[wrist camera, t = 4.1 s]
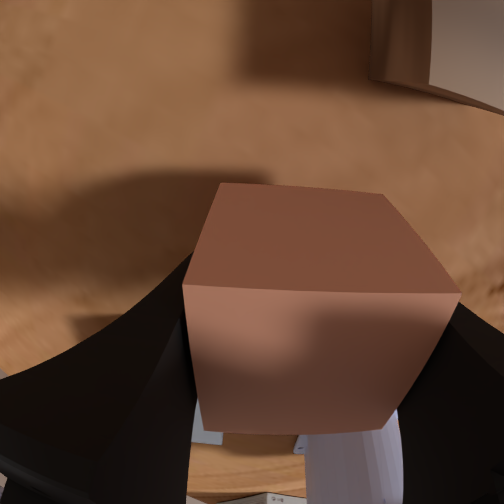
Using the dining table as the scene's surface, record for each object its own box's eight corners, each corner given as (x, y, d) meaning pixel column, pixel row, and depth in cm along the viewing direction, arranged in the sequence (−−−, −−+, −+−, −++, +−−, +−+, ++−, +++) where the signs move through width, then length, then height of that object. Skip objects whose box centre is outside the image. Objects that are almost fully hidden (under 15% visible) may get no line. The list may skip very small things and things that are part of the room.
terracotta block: (352, 316, 12) (381, 429, 7) (222, 312, 12) (203, 430, 8) (383, 194, 9) (462, 293, 5) (220, 182, 9) (182, 284, 5)
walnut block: (468, 105, 10) (546, 130, 6) (367, 79, 10) (428, 84, 6) (473, 6, 8) (548, -3, 3) (371, -30, 8) (425, -74, 3)
